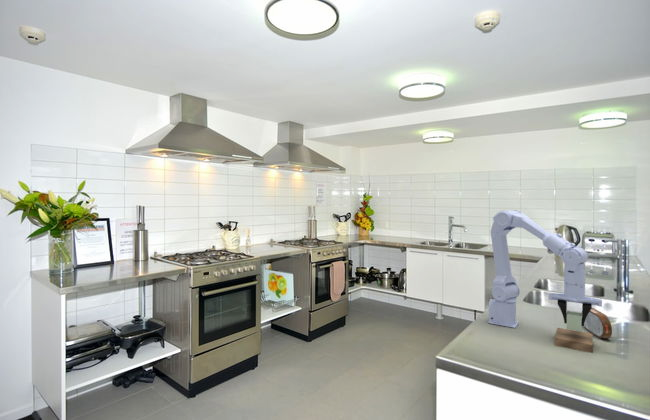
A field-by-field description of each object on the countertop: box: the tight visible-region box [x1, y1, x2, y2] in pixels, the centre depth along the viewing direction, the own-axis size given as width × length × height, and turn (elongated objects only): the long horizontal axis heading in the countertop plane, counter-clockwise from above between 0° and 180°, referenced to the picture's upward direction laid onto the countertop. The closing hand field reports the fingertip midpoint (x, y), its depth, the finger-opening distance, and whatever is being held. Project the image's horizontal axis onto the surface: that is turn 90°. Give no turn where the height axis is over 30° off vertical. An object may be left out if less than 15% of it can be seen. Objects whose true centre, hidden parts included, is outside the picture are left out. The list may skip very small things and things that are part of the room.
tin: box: [583, 307, 613, 339], centre depth 127 cm, size 15×3×8 cm, turn 168°
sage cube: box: [566, 310, 583, 332], centre depth 118 cm, size 4×4×5 cm
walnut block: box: [554, 327, 594, 354], centre depth 118 cm, size 10×12×3 cm
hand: (574, 324), depth 118 cm, fingers closed on sage cube, 4 cm apart
